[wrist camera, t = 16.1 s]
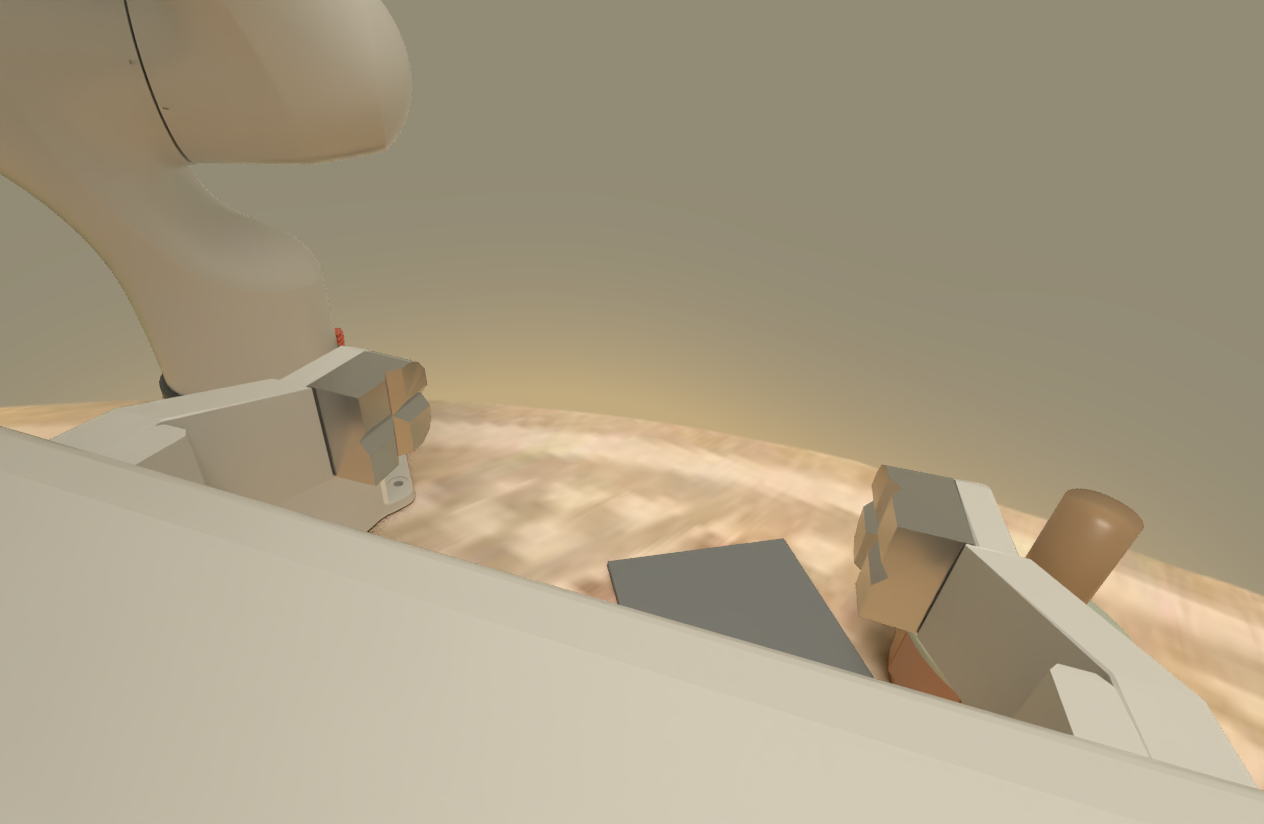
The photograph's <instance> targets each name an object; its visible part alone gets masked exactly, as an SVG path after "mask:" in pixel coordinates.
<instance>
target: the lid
mask: <svg viewBox="0 0 1264 824" xmlns="http://www.w3.org/2000/svg"><path fill="white" fill-rule="evenodd" d="M1143 528H1144V524H1143V521H1142V520H1141V518H1140V517H1139V516H1138V515H1137V514H1136V513H1135V512H1134V511H1133V510H1132V509H1130V508H1129V507H1128V506H1126V505H1125V504H1123V503H1122V502H1120V501H1118V500H1116V499H1114V498H1112V497H1110V496H1107V495H1105V494H1102V493H1099V492H1096V491H1092V490H1087V489H1071V490H1068V491H1067V492H1066V493H1065V495H1064V496H1063V498H1062V499H1061V501H1060V502H1059V504H1058V506H1057V507H1056V509H1055V511H1054V512H1053V514H1052V515H1051V517H1050V519H1049V520H1048V522H1047V523H1046V525H1045V527H1044V528H1043V530H1042V531H1041V533H1040V535H1039V536H1038V538H1037V540H1036V541H1035V543H1034V544H1033V546H1032V548H1031V549H1030V551H1029V552H1028V554H1027V556H1026V557H1025V558H1027V559H1031V560H1032V561H1033V562H1035V563H1036V564H1037V565H1038V566H1040V567H1041V568H1042V569H1043V570H1044V571H1046V572H1047V573H1048V574H1049V575H1051V576H1052V577H1053V578H1054V579H1055V580H1057V581H1058V582H1059V583H1060V584H1062V585H1063V586H1064V587H1065V588H1067V589H1068V590H1069V591H1070V592H1071V593H1073V594H1074V595H1075V596H1076V597H1078V598H1079V599H1080V600H1081V601H1083V602H1084V603H1085V604H1086V605H1087V606H1089V607H1090V608H1091V609H1092V610H1094V611H1095V612H1096V613H1097V614H1099V615H1100V616H1101V617H1102V618H1103V619H1105V620H1106V621H1107V622H1108V623H1110V624H1111V625H1112V626H1113V627H1115V628H1116V629H1117V630H1118V631H1119V632H1121V633H1122V634H1123V635H1124V636H1126V637H1127V638H1128V639H1129V640H1131V638H1130V637H1129V636H1128V635H1127V634H1126V633H1125V632H1124V630H1123V629H1122V628H1121V627H1120V626H1119V625H1118V624H1117V623H1116V622H1115V621H1114V620H1113V619H1112V618H1111V617H1110V616H1109V615H1108V614H1107V613H1105V612H1104V611H1103V610H1102V609H1101V608H1099V607H1098V606H1097V605H1096V604H1095V603H1093V602H1092V601H1091V598H1092V597H1093V596H1094V594H1095V593H1096V592H1097V590H1098V589H1099V588H1100V586H1101V585H1102V584H1103V582H1104V581H1105V580H1106V578H1107V577H1108V576H1109V574H1110V573H1111V571H1112V570H1113V569H1114V567H1115V566H1116V565H1117V563H1118V562H1119V561H1120V559H1121V558H1122V557H1123V555H1124V554H1125V553H1126V551H1127V550H1128V549H1129V547H1130V546H1131V545H1132V543H1133V542H1134V540H1135V539H1136V538H1137V537H1138V535H1139V534H1140V532H1141V531H1142V530H1143ZM907 632H908V634H909V636H910V638H911V640H912V642H913V644H914V645H915V647H916V648H917V650H918V651H919V653H920V654H921V656H922V657H923V659H924V660H925V661H926V662H927V664H928V665H929V666H930V667H931V668H932V670H933V671H934V672H935V673H936V674H937V675H938V676H939V677H940V678H941V679H942V680H943V681H944V682H945V683H946V684H947V685H948V686H949V687H950V688H951V689H952V690H953V688H952V687H951V685H950V684H949V682H948V681H947V680H946V678H945V677H944V675H943V674H942V672H941V671H940V670H939V668H938V667H937V665H936V664H935V662H934V661H933V659H932V658H931V657H930V655H929V654H928V652H927V651H926V649H925V648H924V647H923V645H922V644H921V642H920V641H919V639H918V638H917V634H915V633H912V632H909V631H907ZM1131 641H1132V640H1131ZM1132 642H1133V641H1132ZM1133 643H1134V642H1133ZM953 691H954V690H953Z"/></svg>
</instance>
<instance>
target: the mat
mask: <svg viewBox="0 0 1264 824" xmlns="http://www.w3.org/2000/svg"><path fill="white" fill-rule="evenodd" d="M607 566H608V570H609V573H610V577H611V580H612V584H613V588H614V591H615V595H616V598H617V602H618V604H619V605H622V606H625V607H629V608H632V609H636V610H639V611H643V612H646V613H650V614H653V615H657V616H660V617H663V618H667V619H670V620H674V621H677V622H681V623H684V624H688V625H691V626H695V627H698V628H701V629H705V630H708V631H712V632H715V633H719V634H722V635H726V636H729V637H733V638H736V639H740V640H743V641H746V642H750V643H753V644H757V645H760V646H764V647H767V648H771V649H774V650H778V651H781V652H784V653H788V654H791V655H795V656H798V657H802V658H805V659H809V660H812V661H816V662H819V663H823V664H826V665H829V666H833V667H836V668H840V669H843V670H847V671H850V672H854V673H857V674H861V675H864V676H867V677H871V678H874V677H873V675H872V674H871V672H870V671H869V669H868V668H867V666H866V665H865V663H864V661H863V660H862V658H861V657H860V655H859V654H858V652H857V651H856V649H855V648H854V646H853V645H852V643H851V641H850V640H849V638H848V637H847V635H846V634H845V632H844V631H843V629H842V628H841V626H840V624H839V623H838V621H837V620H836V618H835V617H834V615H833V614H832V612H831V611H830V609H829V608H828V606H827V604H826V603H825V601H824V600H823V598H822V597H821V595H820V594H819V592H818V591H817V589H816V587H815V586H814V584H813V583H812V581H811V580H810V578H809V577H808V575H807V574H806V572H805V571H804V569H803V567H802V566H801V564H800V563H799V561H798V560H797V558H796V557H795V555H794V554H793V552H792V550H791V549H790V547H789V546H788V544H787V543H786V541H785V540H784V538H783V539H776V540H768V541H760V542H753V543H745V544H737V545H730V546H722V547H714V548H707V549H699V550H691V551H684V552H676V553H669V554H661V555H653V556H646V557H638V558H630V559H623V560H615V561H608V565H607Z"/></svg>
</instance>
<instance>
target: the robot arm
mask: <svg viewBox="0 0 1264 824" xmlns="http://www.w3.org/2000/svg"><path fill="white" fill-rule="evenodd" d="M411 96H412V77H411V68H410V63H409V59H408V54H407V51H406V48H405V45H404V42H403V39H402V37H401V34H400V32H399V30H398V28H397V26H396V24H395V22H394V21H393V19H392V17H391V15H390V13H389V12H388V10H387V9H386V7H385V6H384V4H383V3H382V2H381V0H0V174H1V175H2V176H4V177H5V178H7V179H8V180H10V181H11V182H13V183H15V184H16V185H18V186H19V187H21V188H22V189H24V190H25V191H27V192H28V193H29V194H31V195H32V196H33V197H35V198H36V199H38V200H39V201H40V202H42V203H43V204H45V205H46V206H47V207H48V208H49V209H51V210H52V211H53V212H54V213H56V214H57V215H58V216H59V217H61V218H62V219H63V220H64V221H65V222H66V223H67V224H68V225H69V226H71V227H72V228H73V229H74V230H75V231H76V232H77V233H78V234H79V235H80V236H82V238H83V239H84V240H85V241H86V242H87V243H88V244H89V245H90V246H91V247H92V248H93V249H94V250H95V252H96V253H97V254H98V255H99V256H100V257H101V259H102V260H103V261H104V262H105V264H106V265H107V266H108V267H109V269H110V270H111V271H112V273H113V274H114V276H115V277H116V279H117V280H118V282H119V284H120V285H121V287H122V289H123V290H124V292H125V294H126V296H127V297H128V300H129V302H130V303H131V305H132V307H133V309H134V311H135V313H136V315H137V317H138V319H139V321H140V323H141V325H142V328H143V329H144V332H145V334H146V336H147V338H148V340H149V343H150V345H151V347H152V349H153V352H154V354H155V356H156V358H157V361H158V363H159V366H160V368H161V371H162V375H161V377H160V381H159V383H160V388H161V391H162V394H163V397H162V398H163V399H162V400H158V401H152V402H147V403H142V404H137V405H132V406H126V407H121V408H116V409H113V410H111V411H109V412H107V413H105V414H103V415H101V416H98V417H96V418H94V419H92V420H90V421H88V422H86V423H84V424H82V425H79V426H77V427H75V428H73V429H71V430H69V431H67V432H65V433H62V434H60V435H58V436H56V437H54V438H52V439H50V440H47V439H43V438H40V437H36V436H33V435H30V434H26V433H23V432H19V431H16V430H12V429H9V428H5V427H2V426H0V824H1264V791H1263V790H1260V789H1258V787H1257V785H1256V784H1255V782H1254V780H1253V779H1252V777H1251V776H1250V774H1249V772H1248V771H1247V769H1246V767H1245V766H1244V764H1243V763H1242V761H1241V759H1240V758H1239V756H1238V754H1237V753H1236V751H1235V749H1234V748H1233V746H1232V745H1231V743H1230V741H1229V740H1228V738H1227V736H1226V735H1225V733H1224V731H1223V730H1222V728H1221V727H1220V725H1219V723H1218V722H1217V720H1216V718H1215V717H1214V715H1213V713H1212V712H1211V710H1210V709H1209V707H1208V705H1207V704H1206V702H1205V701H1204V700H1203V699H1202V698H1201V697H1199V696H1198V695H1197V694H1196V693H1194V692H1193V691H1192V690H1191V689H1190V688H1188V687H1187V686H1186V685H1185V684H1183V683H1182V682H1181V681H1180V680H1178V679H1177V678H1176V677H1175V676H1174V675H1172V674H1171V673H1170V672H1169V671H1167V670H1166V669H1165V668H1164V667H1163V666H1161V665H1160V664H1159V663H1158V662H1156V661H1155V660H1154V659H1153V658H1151V657H1150V656H1149V655H1148V654H1147V653H1145V652H1144V651H1143V650H1142V649H1140V648H1139V647H1138V646H1137V645H1135V644H1134V643H1133V642H1132V641H1131V640H1129V639H1128V638H1127V637H1126V636H1124V635H1123V634H1122V633H1121V632H1119V631H1118V630H1117V629H1116V628H1115V627H1113V626H1112V625H1111V624H1110V623H1108V622H1107V621H1106V620H1105V619H1103V618H1102V617H1101V616H1100V615H1099V614H1097V613H1096V612H1095V611H1094V610H1092V609H1091V608H1090V607H1089V606H1087V605H1086V604H1085V603H1084V602H1083V601H1081V600H1080V599H1079V598H1078V597H1076V596H1075V595H1074V594H1073V593H1071V592H1070V591H1069V590H1068V589H1067V588H1065V587H1064V586H1063V585H1062V584H1060V583H1059V582H1058V581H1057V580H1055V579H1054V578H1053V577H1052V576H1051V575H1049V574H1048V573H1047V572H1046V571H1044V570H1043V569H1042V568H1041V567H1040V566H1038V565H1037V564H1036V563H1035V562H1033V561H1032V560H1031V559H1027V558H1023V557H1019V555H1018V552H1017V550H1016V548H1015V545H1014V543H1013V541H1012V538H1011V536H1010V534H1009V531H1008V529H1007V526H1006V524H1005V522H1004V519H1003V517H1002V515H1001V512H1000V510H999V508H998V505H997V503H996V501H995V498H994V496H993V493H992V491H991V489H990V488H989V487H988V486H987V485H985V484H981V483H976V482H970V481H965V480H959V479H954V478H948V477H943V476H938V475H933V474H928V473H922V472H917V471H912V470H907V469H902V468H897V467H892V466H886V465H881V467H880V468H879V470H878V472H877V474H876V476H875V479H874V481H873V483H872V492H873V501H872V502H871V503H869V504H867V505H866V506H864V507H863V510H862V512H861V515H860V518H859V521H858V524H857V529H856V534H855V538H854V563H855V564H856V565H857V567H858V568H859V569H860V570H861V571H860V574H859V576H858V579H857V581H856V596H857V608H858V617H861V618H865V619H868V620H872V621H875V622H878V623H882V624H885V625H888V626H892V627H895V628H899V629H902V630H905V631H909V632H912V633H915V634H917V638H918V639H919V641H920V642H921V644H922V645H923V647H924V648H925V649H926V651H927V652H928V654H929V655H930V657H931V658H932V659H933V661H934V662H935V664H936V665H937V667H938V668H939V670H940V671H941V672H942V674H943V675H944V677H945V678H946V680H947V681H948V682H949V684H950V685H951V687H952V688H953V690H954V691H955V692H956V694H957V695H958V697H959V698H960V700H961V701H962V703H963V704H962V703H958V702H955V701H951V700H948V699H944V698H941V697H937V696H934V695H931V694H927V693H924V692H920V691H917V690H913V689H910V688H906V687H903V686H899V685H896V684H892V683H889V682H885V681H882V680H878V679H875V678H871V677H867V676H864V675H861V674H857V673H854V672H850V671H847V670H843V669H840V668H836V667H833V666H829V665H826V664H823V663H819V662H816V661H812V660H809V659H805V658H802V657H798V656H795V655H791V654H788V653H784V652H781V651H778V650H774V649H771V648H767V647H764V646H760V645H757V644H753V643H750V642H746V641H743V640H740V639H736V638H733V637H729V636H726V635H722V634H719V633H715V632H712V631H708V630H705V629H701V628H698V627H695V626H691V625H688V624H684V623H681V622H677V621H674V620H670V619H667V618H663V617H660V616H657V615H653V614H650V613H646V612H643V611H639V610H636V609H632V608H629V607H625V606H622V605H619V604H615V603H612V602H608V601H605V600H601V599H598V598H594V597H591V596H587V595H584V594H580V593H577V592H573V591H570V590H566V589H563V588H560V587H556V586H553V585H549V584H546V583H542V582H539V581H535V580H532V579H528V578H525V577H521V576H518V575H514V574H511V573H507V572H504V571H500V570H497V569H493V568H490V567H486V566H483V565H479V564H476V563H472V562H469V561H465V560H462V559H459V558H455V557H452V556H448V555H445V554H441V553H438V552H434V551H431V550H427V549H424V548H420V547H417V546H414V545H410V544H407V543H403V542H400V541H396V540H393V539H389V538H386V537H382V536H379V535H376V534H372V533H369V532H367V531H368V530H369V529H370V528H371V527H373V526H374V525H375V524H376V523H377V522H378V521H379V520H381V519H382V518H383V517H385V516H386V515H389V514H391V513H393V512H395V511H397V510H399V509H401V508H403V507H405V506H407V505H408V504H410V503H411V502H412V501H413V500H414V499H415V490H414V486H413V481H412V477H411V473H410V468H409V464H408V460H407V455H406V454H407V453H410V452H413V451H415V450H416V449H417V448H418V447H419V446H420V445H421V444H422V443H423V441H424V439H425V437H426V435H427V433H428V431H429V428H430V421H431V412H430V405H429V403H428V402H427V401H426V399H425V398H424V396H423V395H422V394H421V393H422V391H423V390H424V388H425V387H426V385H427V380H426V374H425V369H424V368H423V367H422V366H421V365H420V363H419V362H415V361H412V360H408V359H403V358H399V357H395V356H391V355H387V354H383V353H378V352H374V351H370V350H367V349H362V348H357V347H352V346H344V335H343V332H342V330H341V328H334V324H333V320H332V315H331V310H330V305H329V300H328V295H327V290H326V286H325V281H324V276H323V271H322V268H321V266H320V264H319V262H318V261H317V259H316V257H315V256H314V255H313V253H312V252H311V251H310V250H309V249H308V248H307V247H306V246H305V245H304V244H303V243H302V242H301V241H299V240H298V239H297V238H295V237H294V236H293V235H291V234H289V233H288V232H286V231H284V230H283V229H281V228H279V227H277V226H275V225H272V224H270V223H267V222H265V221H262V220H260V219H257V218H254V217H252V216H249V215H246V214H244V213H241V212H239V211H236V210H234V209H232V208H231V207H229V206H227V205H226V204H224V203H223V202H221V201H220V200H218V199H217V198H216V197H215V196H214V195H212V194H211V193H210V192H209V191H208V190H207V189H206V188H205V187H204V186H203V185H202V183H201V182H200V181H199V179H198V178H197V176H196V175H195V173H194V172H193V170H192V168H191V166H190V165H193V164H197V163H239V164H300V165H301V164H302V165H316V164H321V163H328V162H334V161H340V160H346V159H352V158H357V157H362V156H367V155H371V154H376V153H381V152H385V151H387V149H388V148H389V147H390V146H391V145H392V144H393V143H394V141H395V140H396V139H397V137H398V136H399V134H400V132H401V130H402V128H403V126H404V124H405V121H406V119H407V116H408V112H409V109H410V103H411Z"/></svg>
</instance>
